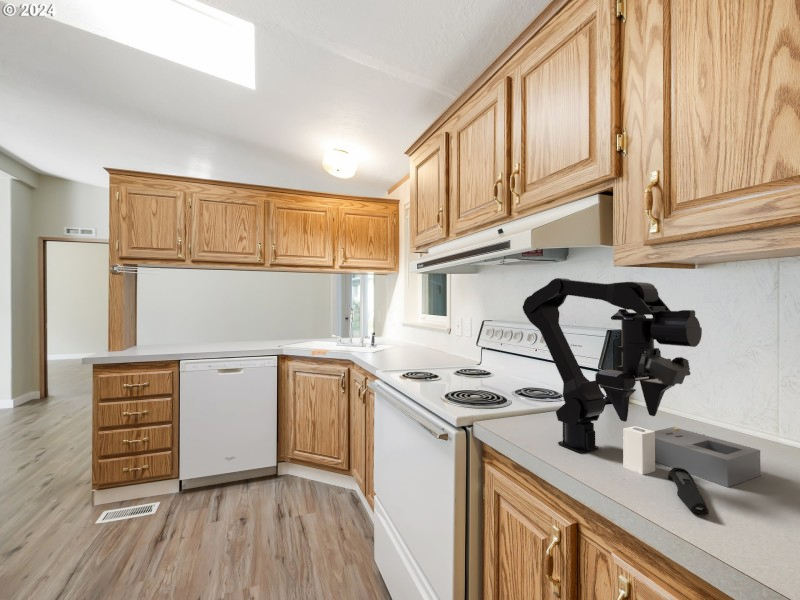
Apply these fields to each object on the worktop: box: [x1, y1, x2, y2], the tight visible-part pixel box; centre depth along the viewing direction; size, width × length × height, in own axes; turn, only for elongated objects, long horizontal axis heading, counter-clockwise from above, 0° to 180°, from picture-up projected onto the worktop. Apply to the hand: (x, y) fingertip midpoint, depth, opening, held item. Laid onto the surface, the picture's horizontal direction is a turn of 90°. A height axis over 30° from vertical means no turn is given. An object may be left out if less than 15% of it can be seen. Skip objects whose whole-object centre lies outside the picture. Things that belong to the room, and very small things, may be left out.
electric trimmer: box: [667, 468, 710, 515], centre depth 67 cm, size 4×16×3 cm, turn 154°
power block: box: [653, 426, 762, 488], centre depth 80 cm, size 16×12×5 cm
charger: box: [622, 425, 656, 476], centre depth 78 cm, size 4×4×8 cm
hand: (638, 418), depth 79 cm, fingers open, 9 cm apart
